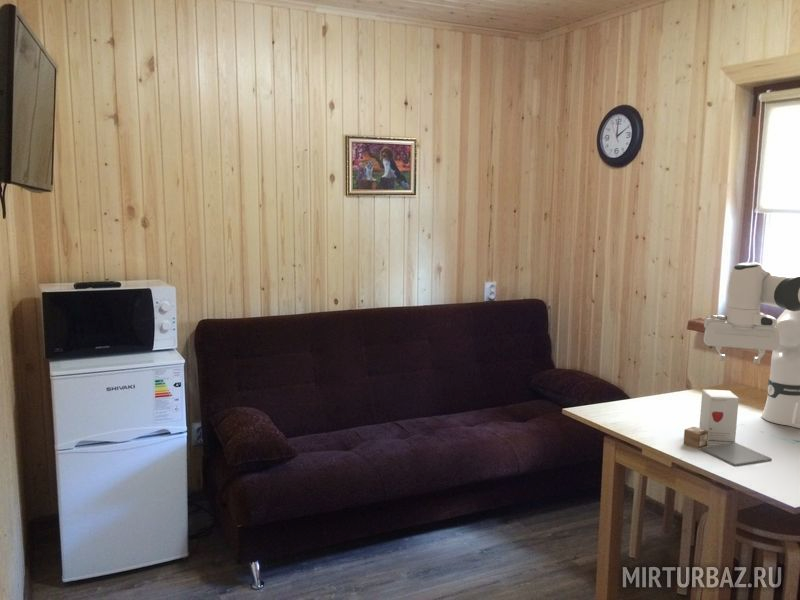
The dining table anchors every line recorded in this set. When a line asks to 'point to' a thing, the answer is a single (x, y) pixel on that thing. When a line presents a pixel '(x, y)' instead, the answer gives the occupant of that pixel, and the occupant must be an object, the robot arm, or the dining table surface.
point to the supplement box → (719, 414)
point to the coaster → (735, 454)
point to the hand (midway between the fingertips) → (738, 362)
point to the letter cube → (695, 437)
